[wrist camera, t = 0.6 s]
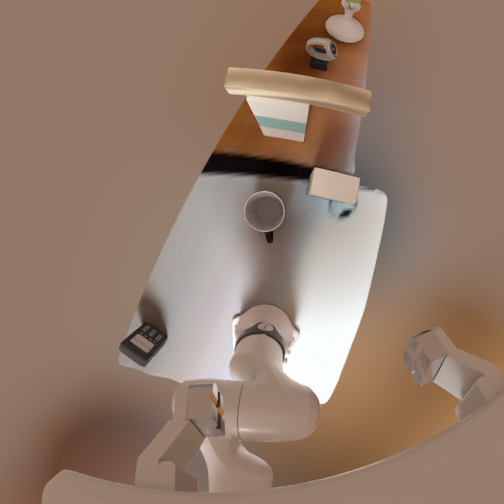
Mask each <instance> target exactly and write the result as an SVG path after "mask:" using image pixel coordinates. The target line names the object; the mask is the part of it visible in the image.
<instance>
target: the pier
mask: <svg viewBox="0 0 504 504" xmlns="http://www.w3.org/2000/svg"><path fill="white" fill-rule="evenodd" d="M359 182H360V178H358V177H354V176H350V175H346V174H342V173H338V172H333V171H329V170H325V169H320V168H316V167H315V168H314V170H313V171H312V173H311V174H310V178H309V183H308V189H307V194H306V195H310V196H314V197H319V198H323V199H328V200H332V201H336V202H340V203H356V199H357V193H358V188H359Z"/></svg>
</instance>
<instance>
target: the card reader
mask: <svg viewBox="0 0 504 504" xmlns="http://www.w3.org/2000/svg"><path fill="white" fill-rule="evenodd" d="M166 340H167V338H166V337H165V335H163V334H162V333H160V332H159V331H157V330H156V329H154V328H153V327H151V326H150V325H148V324H146V323H144V324H143V325H142V326H141V327H139V328H138V329H137V330H135V331H134V332H133V333H132V334H131V335H129V336H128V337H127V338H126V339H125V340H124V341H123V342H122V343H121V344H120V347H119V349H120V350H121V352H122V353H123V354H125V355H126V356H127V357H129V358H130V359H132V360H133V361H134V362H136V363H137V364H139V365H140V366H143V367H145V366H146V365H147V364H148V363H149V362H150V360H152V358H153V357H154V356H155V355H156V354H157V353H158V351H159V350H160V349H161V348H162V346H163V345H164V344H165V342H166Z"/></svg>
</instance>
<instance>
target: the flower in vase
mask: <svg viewBox="0 0 504 504" xmlns="http://www.w3.org/2000/svg"><path fill="white" fill-rule="evenodd" d="M360 1H361V0H342V2H341V4H342V6H343V7H344V9H345V13H344V15H334V16H331V17H330V18H329V19H328V20H327V21H326V23H325V27H326V30H327V32H328V33H329V34H330V35H331V36H332V37H334V38H335V39H337V40H339V41H342V42H347V43H353V42H358V41H360V40H361V39H362V38H363V37H364V29H363V26H362V25H361V24H360V23H359V22H358V21H357V20H356V19H354V18H352V16H353V14H354V13H355V11H359V10H360V9H361V5H360V4H359V2H360Z"/></svg>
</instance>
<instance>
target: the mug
mask: <svg viewBox="0 0 504 504" xmlns="http://www.w3.org/2000/svg"><path fill="white" fill-rule="evenodd" d="M285 213H286V209H285V205H284V202H283V200H282V199H281V198H280V197H279V196H278V195H277V194H275V193H273V192H271V191H258V192H256V193H254V194H252V195H251V196H250V197H249V198H248V199H247V201H246V203H245V206H244V217H245V220H246V222H247V223H248V224H249V226H250V227H252V228H253V229H255V230H257V231H260V232H264V233H265V236H266V240H267V242H268V243H272V242H273V230H275V229H276V228H278V227H279V226H280V225H281V224H282V222H283V220H284V218H285Z"/></svg>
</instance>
